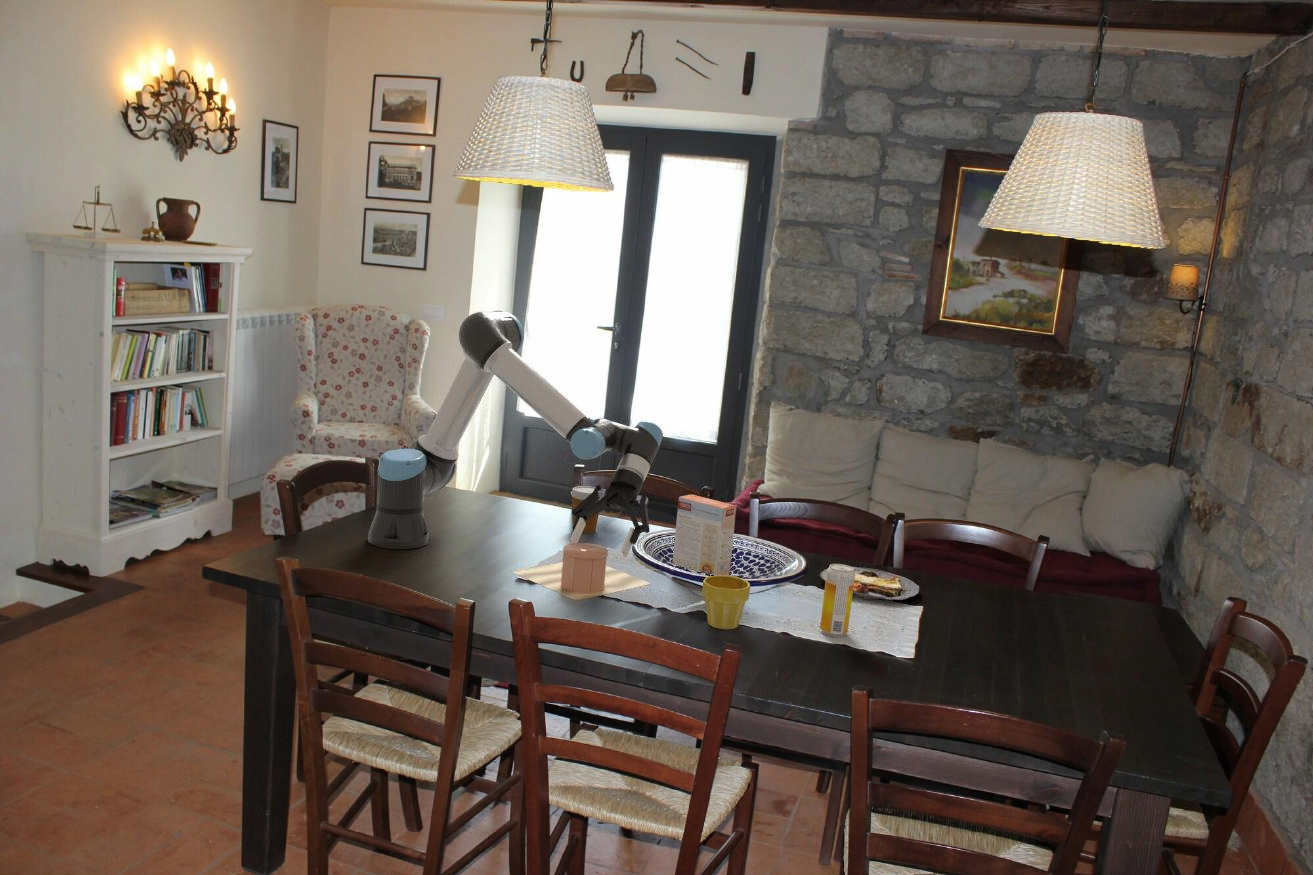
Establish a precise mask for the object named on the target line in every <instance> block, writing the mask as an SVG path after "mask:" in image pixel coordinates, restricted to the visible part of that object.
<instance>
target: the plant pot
mask: <svg viewBox="0 0 1313 875" xmlns="http://www.w3.org/2000/svg"><path fill="white" fill-rule="evenodd" d="M750 591H751V583H750V582H749V581H748V580H746V579H744V578H741V577H737V576H733V575H729V576H727V575H714V576H708V577H706V578H705V579H704V580H703V587H702V592H701V594H702V597H703V598H704V601H705V608H706V617H707V624H708V625H709V626H711V627H712V628H715V629H719V630H733V629H734V630H735V629H736V628H738V627H739V624H740V620H741V617H742V614H743V611H744V608H745V604H746V603H747V602H748V600H749V598H750Z"/></svg>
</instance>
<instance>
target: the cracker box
mask: <svg viewBox="0 0 1313 875" xmlns="http://www.w3.org/2000/svg"><path fill="white" fill-rule="evenodd" d="M736 515H737V505H735V504H731V503H727V502H723V501H719V500H715V499H711V498H707V497H703V496H698V495H696V494H686V495H682V496H681V495H680V496H679V497H678V503H677V514H676V524H675V525H676V526H675V533H674V545H673V554H672V562H671V563H672V564H676V565H678V566H681V567H684V568H687V569H688V570H694V571H696V572H702V573H707V574H713V575H727V576H730V573H731V572H730V571H731V565H732V564H731V563H732V552H733V543H734V534H735V524H736Z"/></svg>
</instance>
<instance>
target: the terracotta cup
mask: <svg viewBox="0 0 1313 875" xmlns="http://www.w3.org/2000/svg"><path fill="white" fill-rule="evenodd" d="M562 551H563V552H562V554H563V555H562V562H563V565H562V578H561V588H564V589H566V590H568V591H571V592H575V593H586V594H592V593H596V592H601V591H604V584H605V572H606V566H607V560H608V559H607V558H608V555H609V554H608V553H609V550H608V548H607V547H605V546H603V545H600V544H599V545H598V544H595V543H588V542H578V543H573V544H572V543H569V544H566V545H564V546H563V550H562Z"/></svg>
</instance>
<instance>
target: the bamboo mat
mask: <svg viewBox="0 0 1313 875" xmlns="http://www.w3.org/2000/svg"><path fill="white" fill-rule="evenodd" d="M562 565H563V561H562V562H556V563H550V564H545V565H539V566H535V567H529V568H522V569H519V570H514V571H511V573H513V574H515V575H517V576H519V577H522V578H523V579H526V580H528V581H531V582H533V583H535V584H537V585H540V586H542V587H544V588H547V589H549V590H550V591H554V592H555V593H558V594H559V595H561V596H564V597H567V598H569V599H570V600H574V601H575V602H578V601H583V600H587V599H592V598H595V597H600V596H605V595H609V594H613V593H619V592H623V591H626V590H630V589H635V588H639V587H644V586H648V585H652V583H651V582H649V581H646V580H643V579H641V578H638V577H636V576H633V575H631V574H628V573H625V572H624V571H621V570H619V569H616V568H614V567H611V566H608V565H606V572H605V584H604V591H601V592H596V593H592V594H586V593H575V592H571V591H568V590H566V589H564V588H561V578H562Z"/></svg>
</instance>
